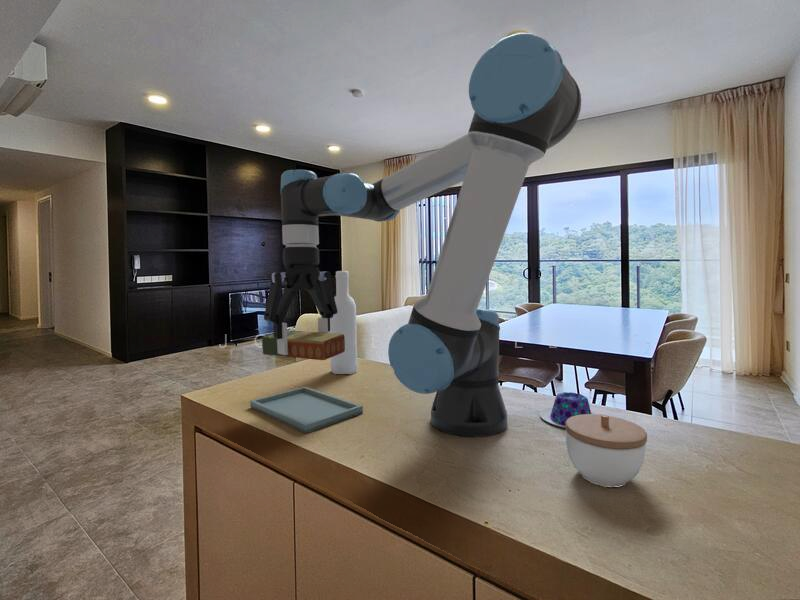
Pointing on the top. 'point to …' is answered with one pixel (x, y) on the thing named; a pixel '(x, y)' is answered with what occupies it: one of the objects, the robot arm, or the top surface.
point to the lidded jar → (605, 448)
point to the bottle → (344, 326)
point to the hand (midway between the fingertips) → (303, 350)
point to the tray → (306, 408)
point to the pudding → (566, 408)
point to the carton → (307, 345)
